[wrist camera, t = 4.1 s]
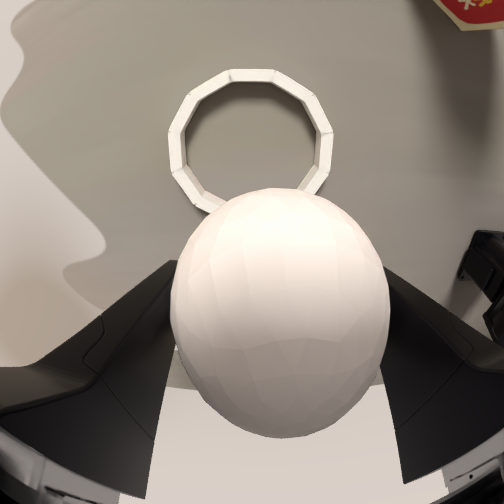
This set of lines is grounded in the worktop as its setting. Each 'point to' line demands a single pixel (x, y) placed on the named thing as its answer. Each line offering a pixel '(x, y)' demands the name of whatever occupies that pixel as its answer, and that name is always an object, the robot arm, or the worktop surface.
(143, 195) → the worktop surface
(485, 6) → the milk carton
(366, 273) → the egg
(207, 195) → the white faceted hoop
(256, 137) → the worktop surface
